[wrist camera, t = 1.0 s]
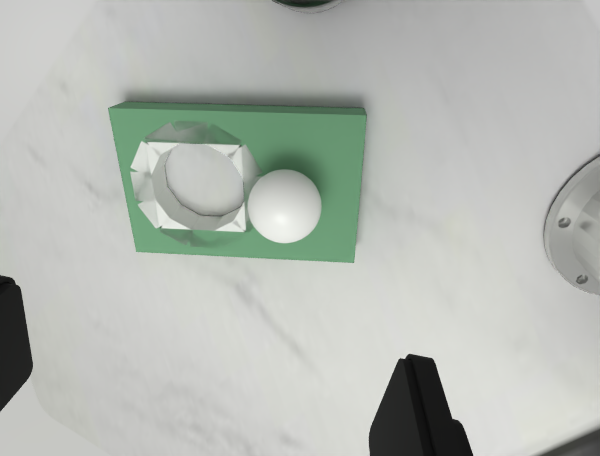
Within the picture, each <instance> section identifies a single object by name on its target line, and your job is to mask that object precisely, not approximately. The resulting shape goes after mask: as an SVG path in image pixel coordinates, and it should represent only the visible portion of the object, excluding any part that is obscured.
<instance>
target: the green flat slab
mask: <svg viewBox="0 0 600 456" xmlns="http://www.w3.org/2000/svg"><path fill="white" fill-rule="evenodd" d="M108 110H109V115H110V120H111V126H112V131H113V136H114V141H115V146H116V151H117V156H118V161H119V166H120V171H121V176H122V181H123V187H124V192H125V197H126V202H127V207H128V212H129V217H130V222H131V227H132V232H133V237H134V242H135V247H136V252H149V253H168V254H188V255H208V256H228V257H248V258H268V259H288V260H308V261H328V262H348V263H354V258H355V246H356V234H357V223H358V211H359V199H360V188H361V176H362V165H363V153H364V141H365V130H366V118H367V115H366V112H365V109H364V108H343V107H306V106H269V105H232V104H195V103H157V102H123V103H120V104H118V105H115V106H112V107H110V108H108ZM180 143H190V144H207V145H208V146H210V147H212V148H214V149H215V150H217V151H219V152H221V153H222V154H224V155H226V156H227V157H229V158H230V160H231V161H232V163H233V164H234V166H235V167H236V169H237V171H238V172H239V174H240V175H241V177H242V178H243V188H244V202H243V204H242V205H241V207H240V208H238V209H236V210H234V211H232V212H230V213H228V214H226V215H224V216H222V217H221V216H201V215H199V214H197V213H195V212H193V211H191V210H190V209H188V208H186V207H184V206H182V205H181V204H180V203H179V202H178V200H177V199H176V197H175V196H174V195H173V193H172V192H171V191H170V189H169V188H168V186H167V180H166V173H165V166H164V164H165V162H166V160H167V158H168V155H169V153H170V151H171V149H172V148H173V147H175V146H176V145H178V144H180ZM281 169H288V170H294V171H297V172H300V173H302V174H303V175H305V176H306V177H308V178H309V179H310V180H311V181H312V182H313V183H314V184H315V186H316V188H317V190H318V192H319V194H320V197H321V204H322V209H321V215H320V219H319V221H318V223H317V225H316V227H315V228H314V229H313V231H312V232H311V233H310V234H308V235H307V236H306V237H304V238H303V239H301V240H298V241H296V242H292V243H278V242H274V241H271V240H269V239H267V238H265V237H264V236H262V235H261V234H260V233H259V232H258V231H257V230H256V229H255V227H254V226H253V224H252V222H251V220H250V217H249V213H248V199H249V195H250V192H251V190H252V188H253V187H254V185H255V184H256V182H257V181H258V180H259V179H260V178H262V177H263V176H264V175H266V174H268V173H270V172H272V171H275V170H281Z"/></svg>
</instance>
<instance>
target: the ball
mask: <svg viewBox="0 0 600 456" xmlns="http://www.w3.org/2000/svg"><path fill="white" fill-rule="evenodd" d="M321 209H322V204H321V197H320V194H319V192H318V190H317V188H316V186H315V184H314V183H313V182H312V181H311V180H310V179H309V178H308V177H306V176H305V175H303V174H302V173H300V172H297V171H294V170H288V169H281V170H275V171H272V172H270V173H268V174H266V175H264V176H263V177H262V178H260V179H259V180H258V181H257V182H256V184H255V185H254V187H253V188H252V190H251V192H250V195H249V199H248V213H249V217H250V220H251V222H252V224H253V226H254V227H255V229H256V230H257V231H258V232H259V233H260V234H261V235H262V236H264V237H265V238H267V239H269V240H271V241H274V242H278V243H292V242H296V241H298V240H301V239H303V238H304V237H306V236H307V235H308V234H310V233H311V232H312V231H313V229H314V228H315V227H316V225H317V223H318V221H319V219H320V215H321Z"/></svg>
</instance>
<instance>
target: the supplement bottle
mask: <svg viewBox="0 0 600 456" xmlns="http://www.w3.org/2000/svg"><path fill="white" fill-rule="evenodd" d="M272 1H274V2H276V3H278V4H280V5H282V6H285V7H287V8H289V9H291V10H294V11H298V12H303V13H318V12H322V11H326V10H329V9H331V8H333V7H335V6H337V5H338V4H340V3H341V2H342V1H344V0H272Z"/></svg>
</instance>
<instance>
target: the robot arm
mask: <svg viewBox="0 0 600 456" xmlns="http://www.w3.org/2000/svg"><path fill="white" fill-rule="evenodd" d="M544 241H545V249H546V252H547V255H548V258H549V260H550V262H551V263H552V265H553V266H554V268H555V269H556V270H557V271H558V273H559V274H560V275H561V276H562V277H563V278H564V279H565V280H566V281H568V282H569V283H570V284H572V285H573V286H574V287H576V288H579V289H581V290H583V291H586V292H588V293H592V294H596V295H600V156H599V157H598V158H596V159H595V160H593V161H592V162H590V163H589V164H587V165H586V166H585V167H584V168H583V169H581V170H580V171H579V172H578V173H577V174H576V175H575V176H573V177H572V178H571V180H570V181H569V182H568V183H567V184H566V185H565V187H564V188H563V189H562V190H561V191H560V193H559V195H558V196H557V198H556V200H555V201H554V203H553V205H552V206H551V209H550V212H549V214H548V217H547V220H546V225H545V231H544ZM32 368H33V362H32V355H31V349H30V343H29V337H28V331H27V325H26V318H25V312H24V306H23V300H22V294H21V289H20V287H19V286H18V285H16V283H15V281H14V280H13V278H10V277H6V276H1V275H0V411H1V410H2V409H3V408H4V407H5V405H6V404H7V403H8V402H9V401H10V400H11V398H12V397H13V396H14V395H15V394H16V392H17V391H18V390H19V389H20V388H21V387H22V385H23V384H24V383H25V382H26V381H27V379H28V378H29V376H30V374H31V372H32ZM369 449H370V456H473V453H472V450H471V447H470V444H469V441H468V438H467V435H466V432H465V430H464V428H463V425H462V424H461V423H460V422H459V421H458V420H455V419H452V416H451V413H450V410H449V407H448V403H447V400H446V397H445V394H444V390H443V387H442V384H441V381H440V377H439V374H438V371H437V368H436V365H435V362H434V360H433V359H432V358H428V357H423V356H418V355H413V354H408V355H407V357H406V358H405V359H401V358H400V359H399V360H398V362H397V365H396V367H395V369H394V372H393V374H392V377H391V379H390V382H389V384H388V386H387V389H386V391H385V394H384V396H383V399H382V401H381V403H380V406H379V408H378V411H377V413H376V416H375V418H374V420H373V423H372V425H371V428H370V432H369Z"/></svg>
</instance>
